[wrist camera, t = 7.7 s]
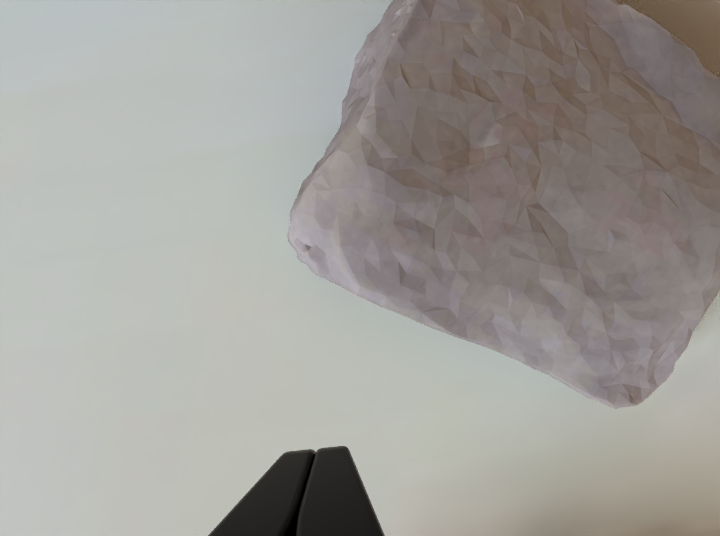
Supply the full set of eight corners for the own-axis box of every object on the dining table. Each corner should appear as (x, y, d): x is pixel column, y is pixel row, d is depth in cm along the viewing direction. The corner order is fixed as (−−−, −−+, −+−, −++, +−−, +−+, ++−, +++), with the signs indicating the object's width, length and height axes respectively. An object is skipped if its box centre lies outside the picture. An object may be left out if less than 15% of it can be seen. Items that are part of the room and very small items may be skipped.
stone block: (395, -39, 19) (268, 258, 19) (434, -131, 14) (265, 264, 14) (713, 123, 21) (598, 397, 21) (843, 88, 16) (694, 444, 16)
